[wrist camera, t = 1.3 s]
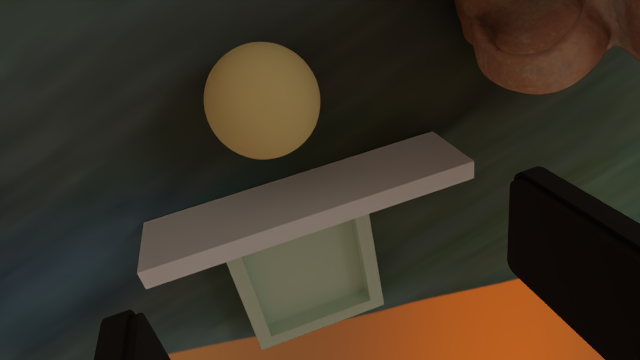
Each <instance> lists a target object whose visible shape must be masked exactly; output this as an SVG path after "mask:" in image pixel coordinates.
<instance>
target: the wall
mask: <svg viewBox="0 0 640 360" xmlns="http://www.w3.org/2000/svg"><path fill="white" fill-rule="evenodd" d="M473 178H474V161H473V160H472V159H470V158H469V157H468V156H466V155H465V154H463V153H462V152H461V151H459V150H458V149H456V148H455V147H454V146H452V145H451V144H449V143H448V142H447V141H445V140H444V139H443V138H441V137H440V136H438V135H437V134H436V133H434V132H433V131H431V132H428V133H425V134H422V135H419V136H415V137H412V138H409V139H406V140H403V141H400V142H396V143H393V144H390V145H387V146H384V147H381V148H378V149H374V150H371V151H368V152H365V153H362V154H359V155H355V156H352V157H349V158H346V159H343V160H340V161H336V162H333V163H330V164H327V165H324V166H321V167H317V168H314V169H311V170H308V171H305V172H302V173H299V174H295V175H292V176H289V177H286V178H283V179H280V180H276V181H273V182H270V183H267V184H264V185H261V186H257V187H254V188H251V189H248V190H245V191H242V192H238V193H235V194H232V195H229V196H226V197H223V198H219V199H216V200H213V201H210V202H207V203H204V204H201V205H197V206H194V207H191V208H188V209H185V210H182V211H178V212H175V213H172V214H169V215H166V216H163V217H159V218H156V219H153V220H150V221H147V222H144V224H143V232H142V239H141V247H140V254H139V262H138V269H137V274H138V276H139V278H140V280H141V281H142V283H143V285H144V287H145V288H146V289H148V288H151V287H154V286H157V285H160V284H163V283H166V282H169V281H172V280H175V279H178V278H181V277H184V276H187V275H190V274H193V273H196V272H199V271H202V270H204V269H207V268H210V267H213V266H216V265H219V264H222V263H225V262H228V261H231V260H234V259H237V258H240V257H243V256H246V255H249V254H252V253H255V252H258V251H261V250H263V249H266V248H269V247H272V246H275V245H278V244H281V243H284V242H287V241H290V240H293V239H296V238H299V237H302V236H305V235H308V234H311V233H314V232H317V231H320V230H323V229H325V228H328V227H331V226H334V225H337V224H340V223H343V222H346V221H349V220H352V219H355V218H358V217H361V216H364V215H367V214H370V213H373V212H376V211H379V210H382V209H384V208H387V207H390V206H393V205H396V204H399V203H402V202H405V201H408V200H411V199H414V198H417V197H420V196H423V195H426V194H429V193H432V192H435V191H438V190H441V189H443V188H446V187H449V186H452V185H455V184H458V183H461V182H464V181H467V180H470V179H473Z"/></svg>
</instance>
